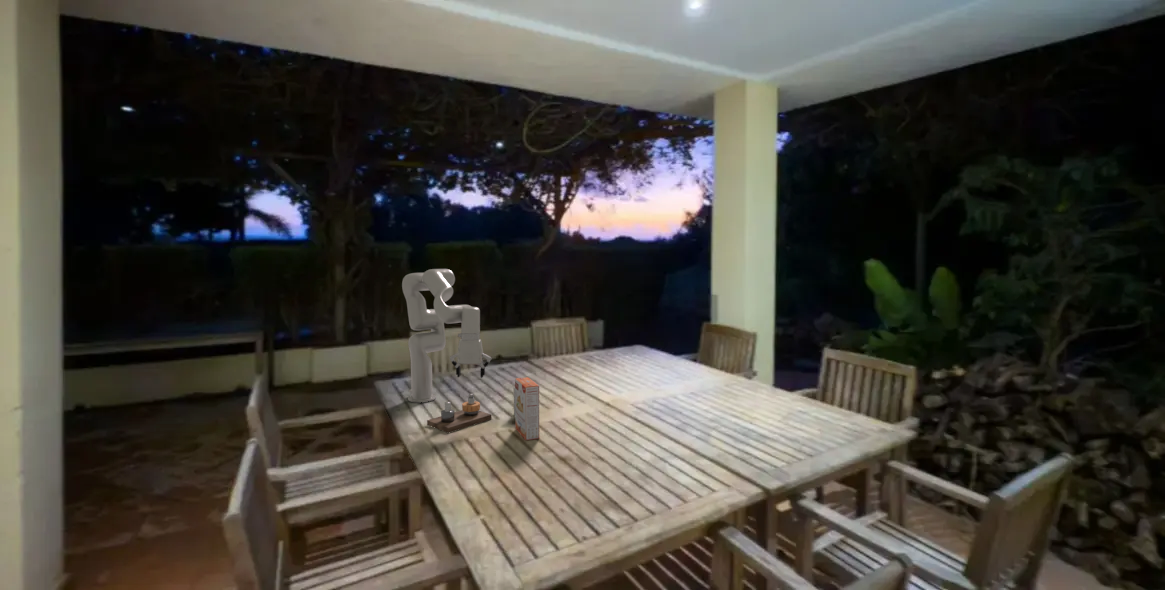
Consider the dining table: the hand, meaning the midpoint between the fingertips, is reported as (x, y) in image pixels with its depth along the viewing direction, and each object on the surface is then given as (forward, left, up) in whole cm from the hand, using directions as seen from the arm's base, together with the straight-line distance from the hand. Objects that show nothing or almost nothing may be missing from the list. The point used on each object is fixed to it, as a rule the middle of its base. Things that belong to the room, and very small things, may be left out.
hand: (470, 376), depth 222 cm
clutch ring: (0, 0, -14) cm, 14 cm away
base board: (0, -6, -18) cm, 19 cm away
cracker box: (+31, +2, -18) cm, 36 cm away
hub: (0, 0, -16) cm, 16 cm away
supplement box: (+12, +19, -18) cm, 29 cm away
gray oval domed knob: (0, -12, -16) cm, 20 cm away
